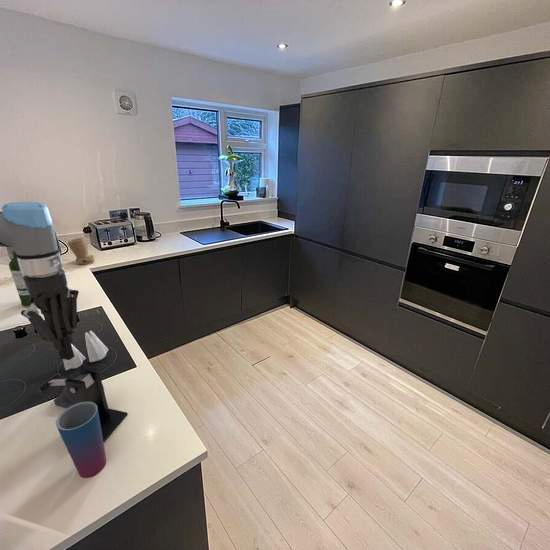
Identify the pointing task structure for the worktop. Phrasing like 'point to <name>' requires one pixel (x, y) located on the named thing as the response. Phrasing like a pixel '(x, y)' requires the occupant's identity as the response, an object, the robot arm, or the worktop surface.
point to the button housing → (63, 399)
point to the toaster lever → (57, 381)
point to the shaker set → (94, 352)
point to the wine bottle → (19, 281)
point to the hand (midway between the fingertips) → (67, 357)
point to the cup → (83, 437)
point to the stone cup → (81, 251)
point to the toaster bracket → (95, 400)
